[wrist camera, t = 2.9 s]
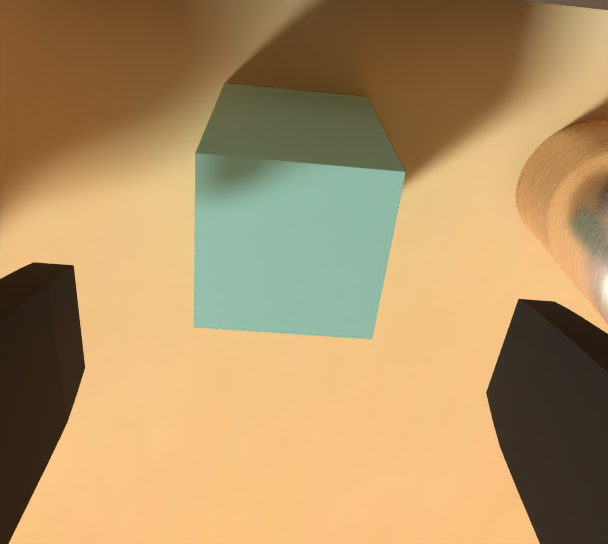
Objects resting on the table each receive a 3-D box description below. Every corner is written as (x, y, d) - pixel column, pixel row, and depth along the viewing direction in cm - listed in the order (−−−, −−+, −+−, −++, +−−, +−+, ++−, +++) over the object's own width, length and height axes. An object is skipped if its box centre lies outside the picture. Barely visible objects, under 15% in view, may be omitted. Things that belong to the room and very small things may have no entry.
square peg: (220, 214, 18) (193, 327, 13) (224, 82, 16) (195, 153, 11) (347, 224, 18) (371, 339, 13) (367, 96, 16) (405, 171, 11)
